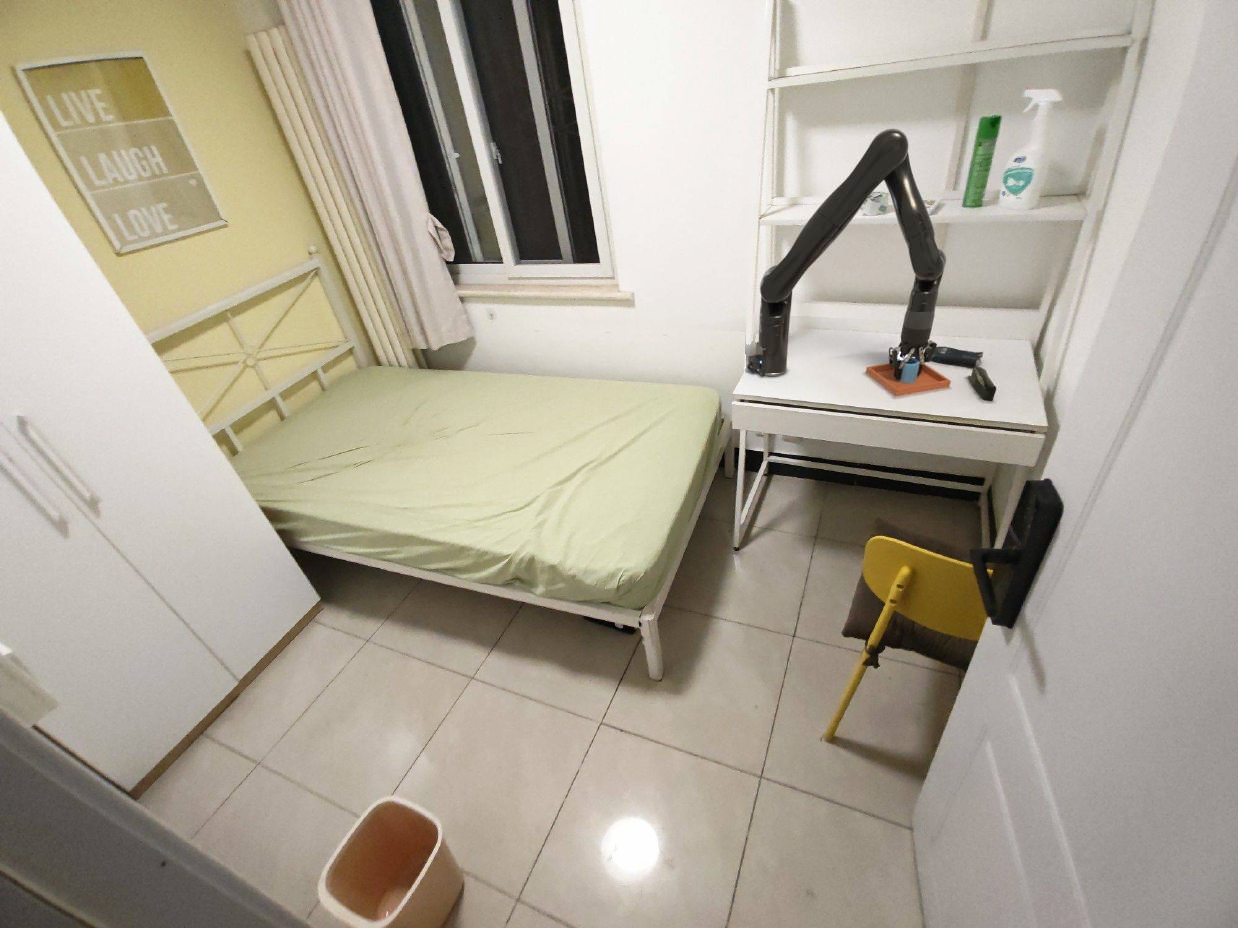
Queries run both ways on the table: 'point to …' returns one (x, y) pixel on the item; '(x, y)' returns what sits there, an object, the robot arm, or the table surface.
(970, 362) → the electronic device
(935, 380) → the tray
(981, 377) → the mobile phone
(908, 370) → the blue hollow tube
